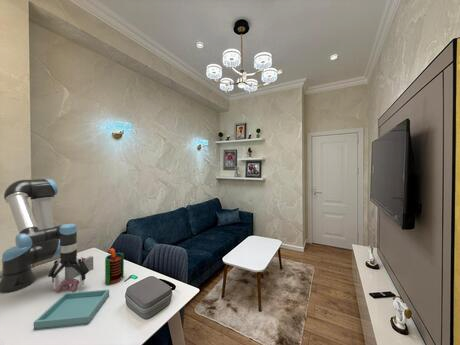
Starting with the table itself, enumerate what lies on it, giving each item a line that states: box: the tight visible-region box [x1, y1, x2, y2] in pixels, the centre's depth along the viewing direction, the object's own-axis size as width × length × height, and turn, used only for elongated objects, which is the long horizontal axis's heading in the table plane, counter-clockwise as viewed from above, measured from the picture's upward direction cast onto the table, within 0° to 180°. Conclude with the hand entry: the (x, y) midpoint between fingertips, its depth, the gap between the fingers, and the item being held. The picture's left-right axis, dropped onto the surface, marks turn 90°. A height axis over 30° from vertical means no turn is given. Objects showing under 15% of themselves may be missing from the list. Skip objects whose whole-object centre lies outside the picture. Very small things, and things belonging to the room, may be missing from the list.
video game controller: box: [56, 278, 80, 294], centre depth 112 cm, size 10×5×7 cm, turn 92°
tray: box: [33, 288, 110, 331], centre depth 95 cm, size 22×20×4 cm
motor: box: [104, 248, 125, 286], centre depth 121 cm, size 10×9×20 cm
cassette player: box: [64, 255, 94, 280], centre depth 128 cm, size 16×3×10 cm, turn 157°
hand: (69, 286), depth 112 cm, fingers open, 13 cm apart
